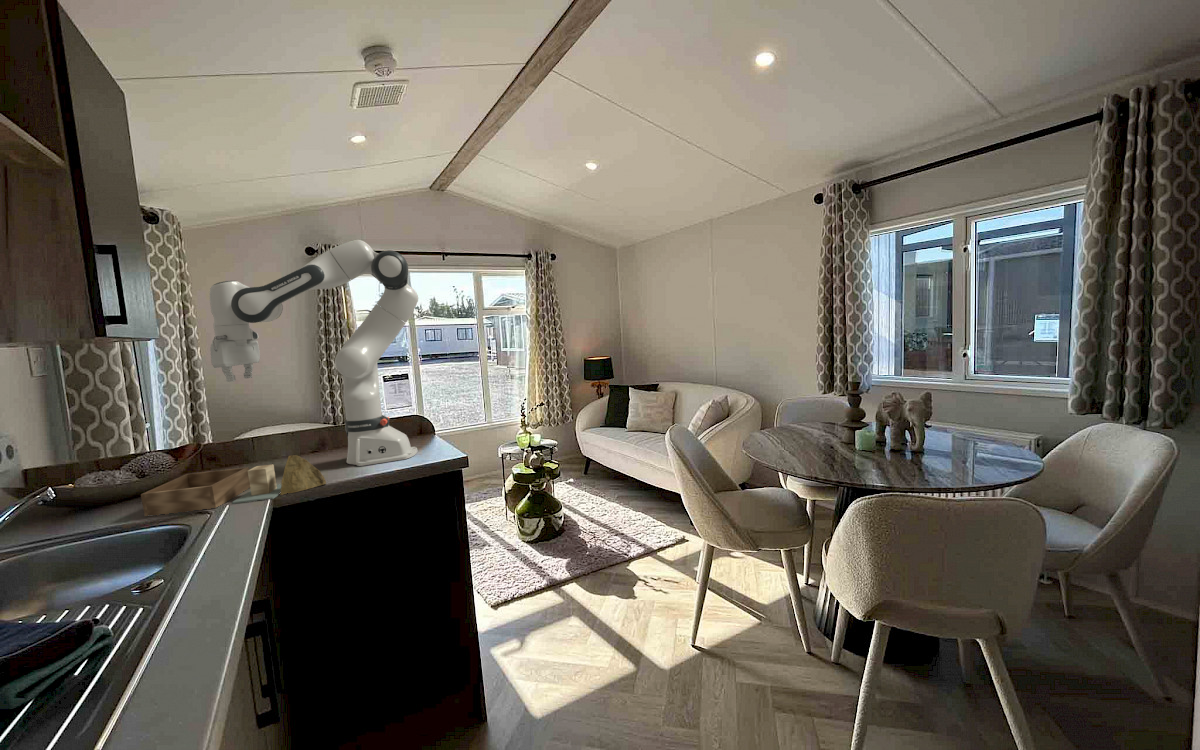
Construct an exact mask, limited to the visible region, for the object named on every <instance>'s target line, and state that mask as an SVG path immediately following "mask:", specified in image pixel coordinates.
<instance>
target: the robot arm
mask: <svg viewBox="0 0 1200 750" xmlns="http://www.w3.org/2000/svg"><path fill="white" fill-rule="evenodd" d="M365 274H370V275H371V276H373V277H374V278H375V279H376V280H377V281H378V282H379V283H381V284H382V285H383V286H384V290H383V293H382V295H381V296H380V298H379V300H378V301H377V302H376V304H375V305H374V306H373V308H371V311H369V313H368V315H367V316H366V317H365V319H363V321H362V323H361V324H359V326H358V328H356V330H355V331H353V333H352V335H351V336H350V337H349V338H348V340H347V341H346V342H345V343H344V344H343V346H342V347H341V348H340V350H338V352H337V354H336V355H335V359H334V364H335V365H334V366H335V368H336V370H337V371H338V373H340V375H342V381H343V395H342V398H343V405H344V413H345V421H344V424H345V425H344V427H345V433H346V437H347V455H346V457H347V458H346V463H347V464H349V465H356V466H357V467H363V466H368V465H369V466H370V465H375V464H376V465H377V464H382V463H387V462H388V463H389V462H394V461H396V462H397V461H402V460H406V459H410V458H412V457H414V456H415V455H416V454H417V453H418V451H419V450H418V448H417V446H411V443H410V439H409V437H408V435H407V434H405V433H404V432H402V431H400V430H399V429H396V428H394V427H393V426H392V425H390V416H385V415H383V411H382V405H381V397H380V396H381V395H380V382H379V381H380V380H379V370H378V368H379V366H378V361H379V360H380V359H381V358H382V356H383V355H384V353H385V352H386V351H387V349H388V348H389V346H390V345H391V344H392V343H393V341H395V339H396V338H397V336H398V335H399V333H400V332H401V331H402V329H403V328H404V326H405V325H406V323H407V322H408V321H409V320H410V318H411V316H412V314H413V312H415V311H414V310H415V309H416V308H417V307H416V306H417V304H418V302H419V295H418V293H417V291H416V290H415V289H414V288H413V287H411V286H410V285H409V284H408V279H409V278H408V276H409V265H408V262H407V260H406V258H405V257H404V255H402V254H401V253H399V252H397V251H395V250H390V249H387V250H382V251H380V252H376V251H375V250H373V248H372V246H370V244H368V243H367V242H366V241H364V240H362V239H355V240H351V241H346V242H344V243H341V244H339V245H337V246H334V247H332V248H330V249H328V250H326V251H324V252H323V253H321V254H320V255H317V256H316V257H315V258H313V259H312V260H310V261H309V262H308V263H307V262H306V263H305V264H304V265H302V266H301V267H300V268H299V269H296V270H294V271H293V272H291V273H289V274H286V275H285V276H282V277H280V278H278V279H276V280H273V281H271V282H270V283H267V284H265V285H261V286H254V287H253V286H251V287H250V286H248V285H246V284H244V283H242V282H240V281H238V280H225V281H220V282H217V283H215V284H213V285H211V287H210V288H209V305H210V312H211V315H212V317H213V329H214V330H213V332H214V338H213V340H212V341H211V342H212V343H211V344H210V349H209V351H210V361H211V365H212V367H213V368H217V369H218V368H220V369H221V371H222V373H223V374H224V376H225V378H226V379H225V380H226V382H227V383H228V382H229V383H230V382H231V383H232V382H235V381H236V380H237V379H236V375H234V373H233V367H234V366H241V365H243V368H244V372H243V373H242V374H243V379H252V378H253V369H254V364H256V363H259V362H260V361H261V351H260V345H259V341H258V340H259V338H260V336H259V333H258V332H256V331H255V330H253V329H252V327H250V323H251V324H255V323H257V324H258V323H270V322H274V321H275V320H277V319H278V318H280V316H281V315H282V313H283V309H284V308H283V307H284V306H283V303H285V302H287V301H289V300H291V299H293V298H294V297H297V296H298V295H301V294H304V293H305V292H309V291H313V290H314V291H315V290H329V289H334V288H337V287H339V286H342V285H345V284H347V283H350V282H351V281H352V280H355V279H356V278H358V277H360V276H362V275H365Z"/></svg>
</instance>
